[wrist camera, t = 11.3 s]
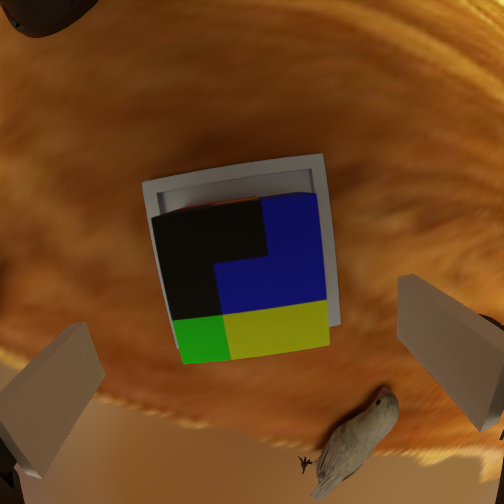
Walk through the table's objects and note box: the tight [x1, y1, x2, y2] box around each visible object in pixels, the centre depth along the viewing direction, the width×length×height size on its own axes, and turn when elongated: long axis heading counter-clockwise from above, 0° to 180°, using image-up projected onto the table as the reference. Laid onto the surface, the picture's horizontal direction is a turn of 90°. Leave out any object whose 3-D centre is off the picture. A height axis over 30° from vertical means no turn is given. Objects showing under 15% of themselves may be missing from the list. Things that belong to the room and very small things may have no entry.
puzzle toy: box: [151, 191, 330, 364], centre depth 24 cm, size 10×10×10 cm
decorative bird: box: [299, 386, 399, 501], centre depth 31 cm, size 5×16×8 cm, turn 147°
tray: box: [142, 153, 341, 348], centre depth 29 cm, size 16×16×2 cm
